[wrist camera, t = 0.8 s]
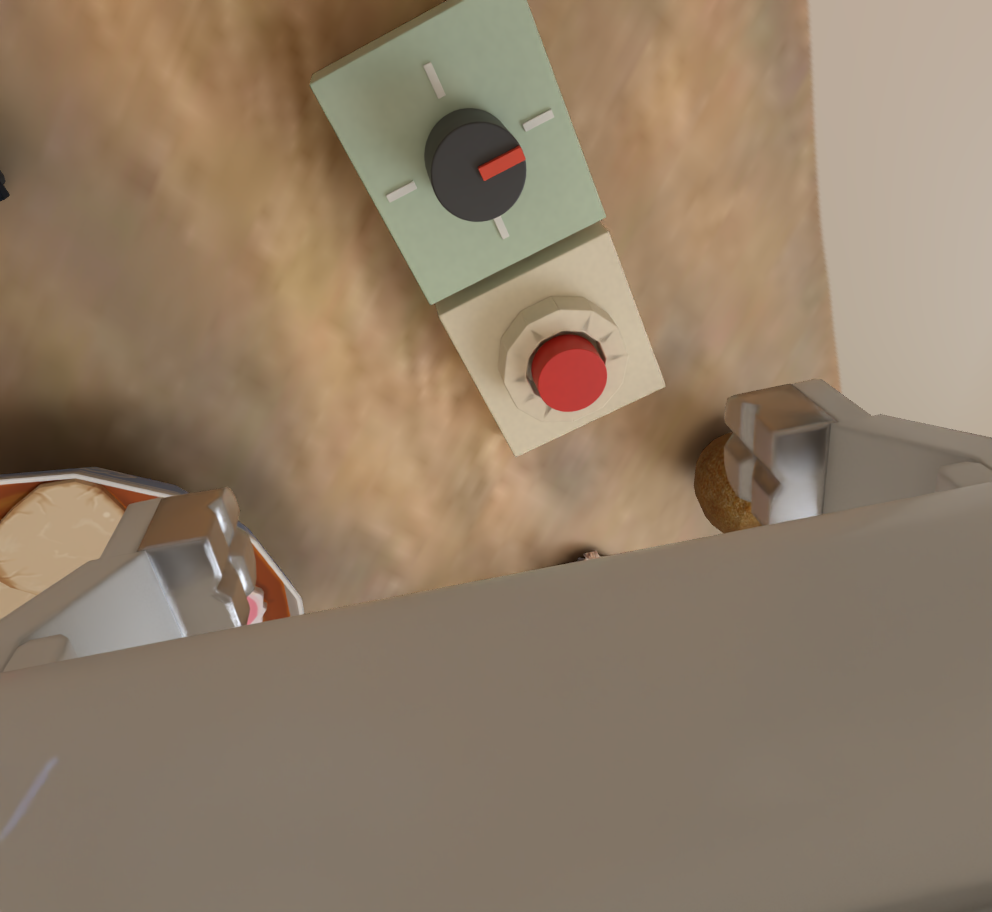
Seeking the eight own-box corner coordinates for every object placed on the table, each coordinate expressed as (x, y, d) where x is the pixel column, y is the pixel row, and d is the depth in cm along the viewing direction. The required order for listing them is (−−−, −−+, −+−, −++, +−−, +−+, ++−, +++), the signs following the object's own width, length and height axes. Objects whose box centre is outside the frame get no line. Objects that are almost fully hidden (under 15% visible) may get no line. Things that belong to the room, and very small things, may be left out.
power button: (520, 353, 39) (526, 368, 38) (584, 322, 39) (593, 336, 38) (546, 406, 41) (553, 423, 40) (607, 377, 41) (617, 393, 40)
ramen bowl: (399, 582, 51) (407, 678, 45) (145, 739, 56) (117, 848, 49) (93, 297, 38) (38, 373, 31) (-210, 533, 42) (-315, 644, 36)
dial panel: (311, 74, 34) (308, 85, 32) (503, -31, 33) (517, -29, 31) (425, 283, 40) (430, 307, 38) (590, 200, 39) (607, 218, 37)
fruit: (752, 490, 52) (811, 569, 45) (665, 490, 51) (713, 571, 44) (781, 410, 49) (849, 483, 42) (689, 408, 48) (744, 482, 41)
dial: (448, 216, 36) (457, 240, 33) (408, 134, 33) (413, 152, 31) (526, 176, 35) (542, 197, 32) (490, 90, 33) (504, 104, 30)
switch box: (433, 299, 41) (441, 330, 38) (596, 217, 40) (619, 242, 37) (509, 438, 47) (521, 475, 43) (653, 369, 46) (677, 402, 42)
